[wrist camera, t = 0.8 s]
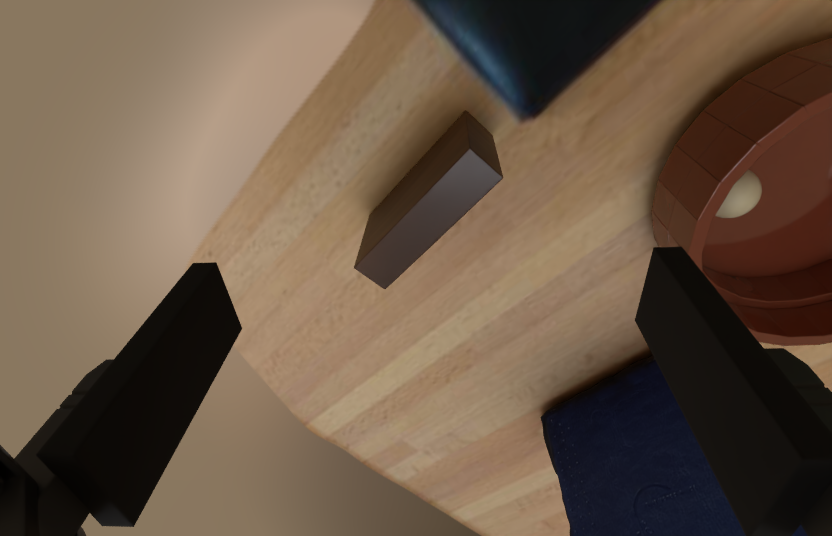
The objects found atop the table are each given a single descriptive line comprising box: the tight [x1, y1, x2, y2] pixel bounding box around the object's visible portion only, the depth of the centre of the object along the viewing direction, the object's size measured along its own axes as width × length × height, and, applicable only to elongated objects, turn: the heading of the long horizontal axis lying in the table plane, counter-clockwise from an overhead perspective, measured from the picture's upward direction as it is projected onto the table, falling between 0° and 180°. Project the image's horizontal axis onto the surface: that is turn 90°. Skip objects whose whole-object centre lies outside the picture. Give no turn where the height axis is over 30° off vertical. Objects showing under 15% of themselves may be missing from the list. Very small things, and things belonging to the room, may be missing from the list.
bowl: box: [651, 38, 832, 346], centre depth 24 cm, size 15×15×6 cm
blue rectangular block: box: [541, 355, 808, 536], centre depth 29 cm, size 14×5×20 cm, turn 136°
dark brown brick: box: [354, 111, 503, 289], centre depth 25 cm, size 2×9×6 cm, turn 139°
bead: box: [715, 169, 762, 218], centre depth 25 cm, size 3×3×3 cm
